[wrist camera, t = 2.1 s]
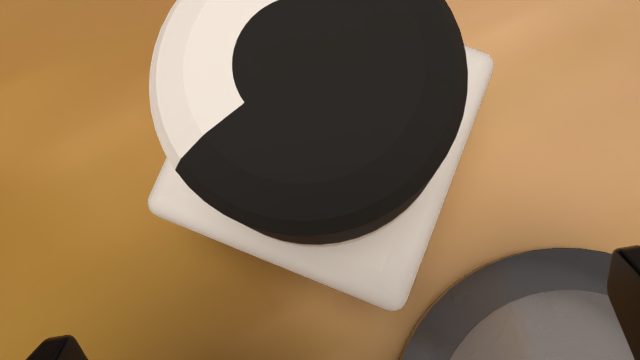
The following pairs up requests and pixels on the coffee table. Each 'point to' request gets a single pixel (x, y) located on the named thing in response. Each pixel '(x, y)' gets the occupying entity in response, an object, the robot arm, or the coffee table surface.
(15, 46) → the coffee table surface
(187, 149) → the medicine bottle
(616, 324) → the plate
